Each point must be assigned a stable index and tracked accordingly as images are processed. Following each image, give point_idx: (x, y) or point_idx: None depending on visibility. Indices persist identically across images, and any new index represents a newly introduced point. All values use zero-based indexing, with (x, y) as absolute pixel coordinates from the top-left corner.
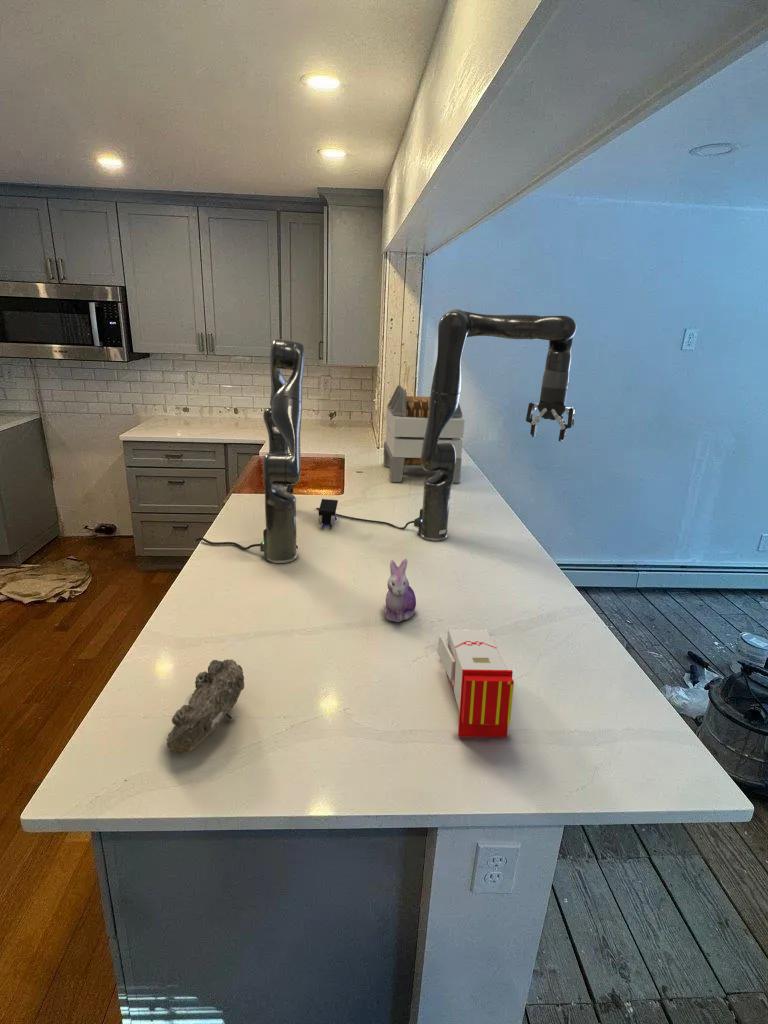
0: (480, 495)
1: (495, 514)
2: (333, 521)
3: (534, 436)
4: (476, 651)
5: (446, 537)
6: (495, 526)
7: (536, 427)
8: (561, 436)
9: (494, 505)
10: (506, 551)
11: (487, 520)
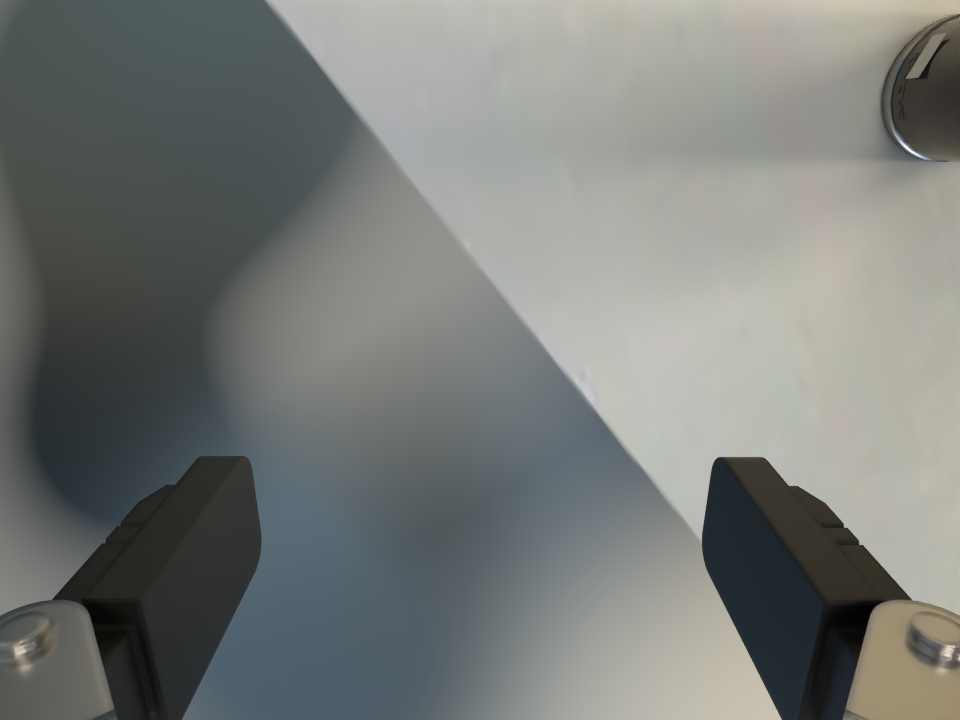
0: None
1: None
2: None
3: (712, 488)
4: None
5: (884, 105)
6: (715, 401)
7: (773, 643)
8: (166, 502)
9: None
10: (577, 154)
11: (769, 444)
